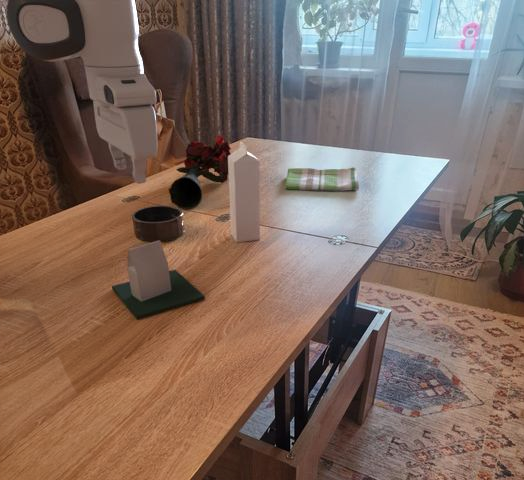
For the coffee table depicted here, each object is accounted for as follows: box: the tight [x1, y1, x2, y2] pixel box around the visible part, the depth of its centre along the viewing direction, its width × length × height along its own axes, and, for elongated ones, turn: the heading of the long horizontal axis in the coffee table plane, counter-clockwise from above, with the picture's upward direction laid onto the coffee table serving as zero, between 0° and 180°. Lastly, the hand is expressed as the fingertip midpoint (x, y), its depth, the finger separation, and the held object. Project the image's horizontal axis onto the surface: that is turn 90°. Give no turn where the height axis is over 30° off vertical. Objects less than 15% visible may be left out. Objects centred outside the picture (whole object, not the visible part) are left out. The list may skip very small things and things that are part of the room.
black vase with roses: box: [168, 135, 232, 211], centre depth 147 cm, size 16×18×35 cm
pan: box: [131, 205, 185, 243], centre depth 121 cm, size 12×12×5 cm
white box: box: [126, 240, 171, 302], centre depth 92 cm, size 4×7×10 cm, turn 132°
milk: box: [228, 140, 261, 243], centre depth 114 cm, size 6×6×22 cm
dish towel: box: [284, 166, 360, 191], centre depth 156 cm, size 17×23×4 cm
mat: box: [111, 269, 206, 320], centre depth 96 cm, size 14×14×1 cm
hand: (130, 175), depth 84 cm, fingers open, 8 cm apart
